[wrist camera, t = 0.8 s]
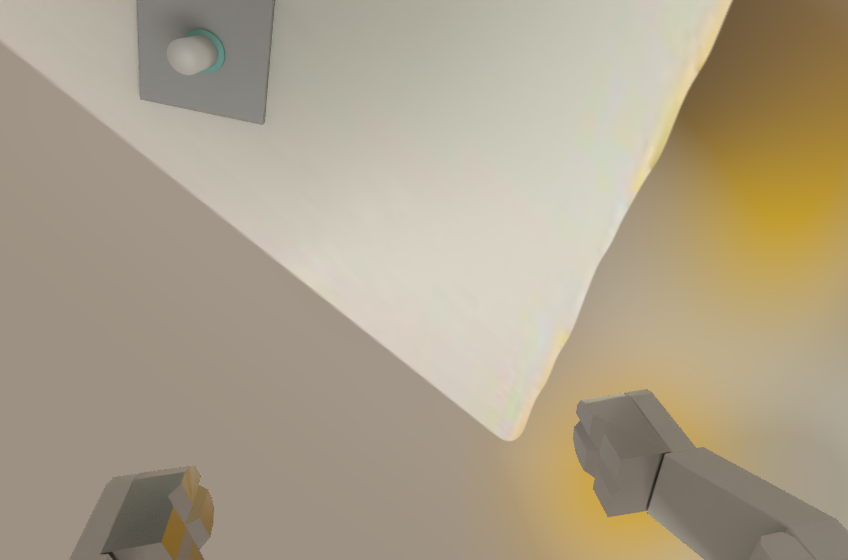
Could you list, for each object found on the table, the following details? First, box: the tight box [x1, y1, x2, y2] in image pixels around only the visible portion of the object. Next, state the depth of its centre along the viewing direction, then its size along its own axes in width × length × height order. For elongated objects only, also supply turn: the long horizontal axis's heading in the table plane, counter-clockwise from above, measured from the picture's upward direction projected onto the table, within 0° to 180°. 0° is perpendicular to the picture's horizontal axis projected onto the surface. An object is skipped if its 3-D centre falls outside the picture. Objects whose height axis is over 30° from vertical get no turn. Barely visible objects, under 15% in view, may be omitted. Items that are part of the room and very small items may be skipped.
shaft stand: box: [137, 0, 275, 125], centre depth 37 cm, size 10×10×7 cm
